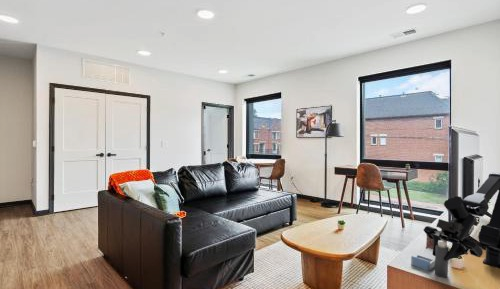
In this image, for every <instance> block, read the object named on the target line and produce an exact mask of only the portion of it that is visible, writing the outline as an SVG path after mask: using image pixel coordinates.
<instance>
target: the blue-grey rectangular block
mask: <svg viewBox="0 0 500 289" xmlns="http://www.w3.org/2000/svg"><path fill="white" fill-rule="evenodd" d="M432 253H433V249H431V248H427V249H426V248H425V249H424V250H423V251H421V252H420V253H417V254H415V255H411V260H410V261H411V262H410V265H411V266H414V267H418V268H420V269H423V270H424V271H428V272H429V271H432V269H434V268H435V256H433V254H432Z"/></svg>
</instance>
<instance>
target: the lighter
mask: <svg viewBox="0 0 500 289" xmlns="http://www.w3.org/2000/svg"><path fill="white" fill-rule="evenodd" d="M438 231H439V233H441V234H444V233H443V232H442V231H441V230H438ZM425 234H426V233H425ZM444 241H445V242H447V243H448V241H446V240H444ZM425 242H426V243H425V244H426V245H425V250H426V249H427V248H431V249H433V247H434V240H432V239H430V238H429V237H428V236H427V234H426V241H425ZM446 247H448V246H446Z"/></svg>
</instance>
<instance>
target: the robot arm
mask: <svg viewBox="0 0 500 289" xmlns="http://www.w3.org/2000/svg"><path fill="white" fill-rule="evenodd" d="M497 192H498V193H497ZM496 193H497V196H496V200H495V203H494V206H493V209H492V213H491V216H490V220H489V222H488V223H487V224H482V225H481V226H480V230H479V232H478V237H477V238H478V241H479V244H478V242H477V241H475V240H472V239H468V237H469V236H470V233H469V232H470V231H471V229H472V227H473V226H478V224H479V223H478V221H477V218H476V217H475V216H477V217H483V216H485V215H486V214H487V213H488V210H489V209H490V206H489V202H490V201H491V200H492V198H493V197H494V196H495V195H496ZM443 202H444V203H443V206H444V207H445V209H446V211H447V212H448V213H449V215H450V216H451V217H452V218H453V220H452V221H447V220H443V219H440V218H439V219H438V220H437V223H436V225H435V226H436V228H435V227H432V226H429V225H427V226H425V227H424V228H423V232H424V233H425V234H427V235H426V237H427V236H428V237H429V238H430V239H432V240H434V247H433V253H432V254H433V256H435V249H436V245H438V241H439V240H441V241H444V240H446V241H447V243H448V242H449V243H451V247H450V248H449V251H448V253H447V254H446V256H445V258H444V260H445V261H448V262H449V261H450V260H452V259H455V258H457V257H460V256H463V255H466V256H468V254H469V253H470V255H471V256H474V257H476V258H481V257H482V255H483V254H484V253H483V252H484V251H483V249H482V248H481V247H483V248H485V258H484V260H482V263H483V264H486V265H489V266H492V267H496V268H500V172H490V173H489V174H488V177H487V178H486V180H485V181H484V182H483V183H482V184H481V185H480V187H479V188H478V189H477V190H476V191H475V193H473V194H470V195H467V196H466V197H464V199H463V198H462V196H458V195H455V196H454V197H451V198H448V199H446V200H445V201H443ZM437 228H439V229H441V230H438V229H437ZM439 231H442V232H443V233H444V234H441V233H439ZM466 237H467V238H466ZM468 251H469V252H468Z"/></svg>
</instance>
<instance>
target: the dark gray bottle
mask: <svg viewBox="0 0 500 289" xmlns="http://www.w3.org/2000/svg"><path fill="white" fill-rule="evenodd" d="M447 244H448V241H447V242H445V241H441V240H439V241H438V245H436V249H435V267H434V275H436V276H438V277H440V278H448V275H449V273H448V272H449V260H448V261H445V260H444V258H445V256H446V254H447V253H448V251H449V250H450V248H449V247H448V246H447ZM446 246H447V247H446Z"/></svg>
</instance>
